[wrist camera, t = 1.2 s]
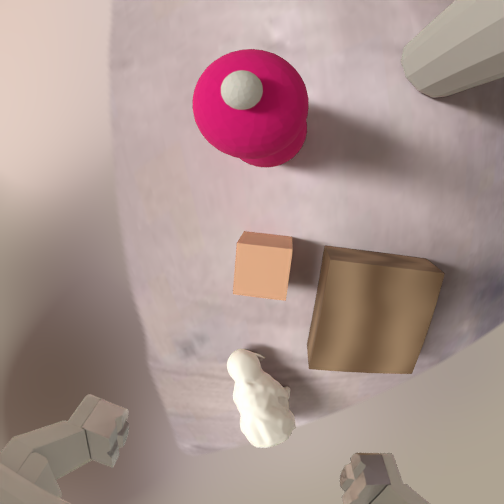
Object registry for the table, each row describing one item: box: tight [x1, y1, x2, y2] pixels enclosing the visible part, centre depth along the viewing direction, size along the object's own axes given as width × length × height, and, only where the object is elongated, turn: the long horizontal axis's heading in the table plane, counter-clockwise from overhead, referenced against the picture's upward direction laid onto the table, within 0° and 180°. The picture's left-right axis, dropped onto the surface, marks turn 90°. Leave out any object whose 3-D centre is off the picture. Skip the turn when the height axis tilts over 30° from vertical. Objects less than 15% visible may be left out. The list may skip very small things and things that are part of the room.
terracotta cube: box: [233, 231, 293, 301], centre depth 32 cm, size 5×5×5 cm
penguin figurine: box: [227, 349, 296, 448], centre depth 35 cm, size 6×8×12 cm
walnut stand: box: [307, 246, 445, 374], centre depth 32 cm, size 12×12×5 cm
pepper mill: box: [193, 49, 308, 167], centre depth 21 cm, size 7×7×20 cm
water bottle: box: [401, 0, 504, 98], centre depth 14 cm, size 9×8×25 cm
